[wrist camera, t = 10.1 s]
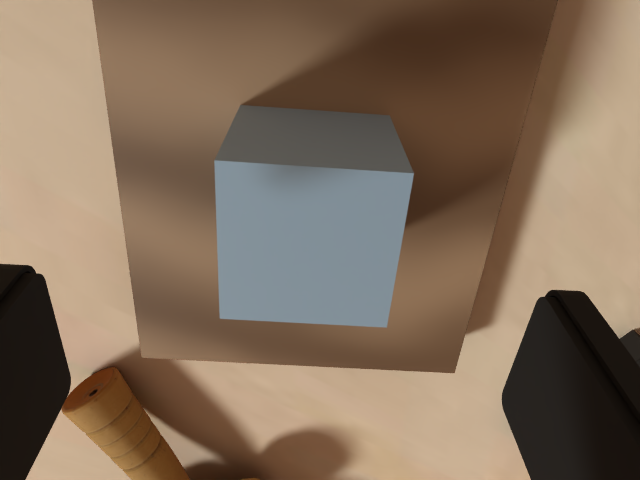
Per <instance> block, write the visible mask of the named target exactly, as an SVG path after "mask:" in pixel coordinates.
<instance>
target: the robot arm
mask: <svg viewBox="0 0 640 480" xmlns="http://www.w3.org/2000/svg"><path fill="white" fill-rule="evenodd" d="M70 385H71V376H70V372H69V368H68V364H67V360H66V357H65V353H64V349H63V345H62V342H61V338H60V334H59V330H58V326H57V323H56V319H55V315H54V311H53V307H52V304H51V300H50V296H49V292H48V288H47V285H46V281H45V278H44V276H43V275H42V274H36V272H35V270H34V269H33V267H32V266H29V265H10V264H0V480H25V479H26V477H27V475H28V473H29V471H30V469H31V467H32V465H33V463H34V461H35V459H36V457H37V456H38V454H39V452H40V450H41V448H42V446H43V444H44V442H45V440H46V438H47V436H48V434H49V432H50V430H51V428H52V426H53V424H54V422H55V420H56V418H57V416H58V414H59V412H60V410H61V408H62V406H63V404H64V402H65V400H66V398H67V396H68V393H69V390H70ZM502 406H503V410H504V413H505V415H506V418H507V420H508V423H509V425H510V428H511V430H512V433H513V435H514V438H515V440H516V443H517V445H518V448H519V450H520V453H521V455H522V458H523V460H524V463H525V466H526V468H527V471H528V473H529V476H530V478H531V480H640V366H639V365H638V364H637V362H636V361H635V360H634V358H633V357H632V356H631V354H630V353H629V352H628V350H627V349H626V348H625V346H624V345H623V343H622V342H621V341H620V339H619V338H618V337H617V335H616V334H615V333H614V331H613V330H612V329H611V327H610V326H609V325H608V323H607V322H606V320H605V319H604V318H603V316H602V315H601V314H600V312H599V311H598V310H597V308H596V307H595V306H594V304H593V303H592V301H591V300H590V299H589V297H588V296H587V295H586V294H585V293H584V292H581V291H566V290H551V291H549V292H548V293H547V294H546V296H545V297H540V298H539V299H538V300H537V302H536V305H535V307H534V310H533V313H532V315H531V318H530V321H529V323H528V326H527V328H526V331H525V334H524V336H523V339H522V342H521V344H520V347H519V350H518V352H517V355H516V358H515V360H514V363H513V365H512V368H511V371H510V373H509V376H508V379H507V381H506V384H505V387H504V389H503V393H502Z"/></svg>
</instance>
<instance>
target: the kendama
mask: <svg viewBox="0 0 640 480" xmlns="http://www.w3.org/2000/svg"><path fill="white" fill-rule="evenodd" d="M62 412H63V414H64V415H65V416H66V417H68V418H69V419H70V420H71V421H72V422H73V423H74V424H75V425H76V426H78V427H79V428H80V429H81V430H82V431H83V432H85V433H86V435H87V436H88V437H89V438H90V439H91V440H92V441H93V442H94V443H95V444H97V445H98V446H99V447H100V448H101V449H102V450H103V451H104V452H105V453H106V454H107V455H108V456H109V457H110V458H111V459H112V460H113V461H114V462H115V463H116V464H117V465H118V466H119V467H120V468H121V469H123V471H124V472H125V473H126V474H127V475H128V476H129V477H130V478H131V479H132V480H190V479H189V477H188V475H187V473H186V472H185V470H184V468H183V467H182V465H181V463H180V462H179V460H178V459H177V457H176V455H175V454H174V452H173V451H172V449H171V448H170V446H169V445H168V443H167V442H166V441H165V439H164V438H163V437H162V435H160V432H159V431H158V429H157V428H156V426H155V425H154V424H153V422H152V421H151V420H150V418H149V416H148V415H147V413H146V412H145V410H144V409H143V408H142V406H141V404H140V403H139V401H138V400H137V399H136V397H135V396H134V395H133V394H132V391H131V389H130V388H129V386H128V385H127V383H126V382H125V380H124V378H123V377H122V375H121V374H120V372H119V371H118V370H117V369H116V368H115V367H109V368H106V369H103V370H101V371H99V372H96V373H94V374H93V375H91V376H90V377H88V378H87V379H85V380H84V381H83V382H82V383H80V384H79V385H78V386H77V387H76V388H75V389H74V390H73V391H72V392H71V393H70V394H69V396H68V397H67V398H66V400H65V402H64V404H63V406H62ZM240 480H260V479H257V478H247V479H240Z"/></svg>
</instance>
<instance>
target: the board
mask: <svg viewBox="0 0 640 480" xmlns="http://www.w3.org/2000/svg"><path fill="white" fill-rule="evenodd" d="M92 1H93V9H94V16H95V23H96V30H97V38H98V45H99V52H100V59H101V67H102V74H103V81H104V88H105V96H106V103H107V110H108V117H109V125H110V132H111V139H112V146H113V154H114V161H115V168H116V175H117V183H118V190H119V197H120V204H121V212H122V219H123V226H124V233H125V241H126V248H127V255H128V262H129V270H130V277H131V284H132V291H133V299H134V306H135V313H136V321H137V328H138V335H139V342H140V350H141V357H142V358H157V359H177V360H197V361H218V362H238V363H259V364H279V365H299V366H320V367H340V368H360V369H381V370H401V371H421V372H442V373H455V369H456V366H457V362H458V358H459V355H460V351H461V348H462V344H463V340H464V337H465V333H466V330H467V326H468V322H469V319H470V315H471V312H472V308H473V304H474V301H475V297H476V293H477V290H478V286H479V283H480V279H481V275H482V272H483V268H484V265H485V261H486V257H487V254H488V250H489V247H490V243H491V239H492V236H493V232H494V229H495V225H496V221H497V218H498V214H499V211H500V207H501V203H502V200H503V196H504V193H505V189H506V185H507V182H508V178H509V174H510V171H511V167H512V164H513V160H514V156H515V153H516V149H517V146H518V142H519V138H520V135H521V131H522V128H523V124H524V120H525V117H526V113H527V110H528V106H529V102H530V99H531V95H532V92H533V88H534V84H535V81H536V77H537V73H538V70H539V66H540V63H541V59H542V55H543V52H544V48H545V45H546V41H547V37H548V34H549V30H550V27H551V23H552V19H553V16H554V12H555V9H556V5H557V1H558V0H92ZM240 105H249V106H263V107H277V108H292V109H306V110H320V111H334V112H349V113H363V114H377V115H390V117H391V120H392V122H393V125H394V127H395V129H396V132H397V134H398V137H399V139H400V141H401V144H402V146H403V148H404V151H405V153H406V156H407V158H408V160H409V163H410V165H411V167H412V170H413V172H414V176H413V182H412V188H411V193H410V199H409V205H408V210H407V216H406V222H405V227H404V233H403V239H402V244H401V250H400V256H399V261H398V267H397V273H396V278H395V284H394V290H393V295H392V301H391V307H390V312H389V318H388V324H387V328H385V327H367V326H348V325H329V324H310V323H291V322H272V321H253V320H234V319H220V313H219V284H218V254H217V224H216V194H215V164H214V160H215V158H216V156H217V154H218V152H219V149H220V147H221V145H222V143H223V141H224V139H225V137H226V135H227V132H228V130H229V128H230V126H231V124H232V122H233V120H234V117H235V115H236V113H237V111H238V109H239V107H240Z"/></svg>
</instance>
